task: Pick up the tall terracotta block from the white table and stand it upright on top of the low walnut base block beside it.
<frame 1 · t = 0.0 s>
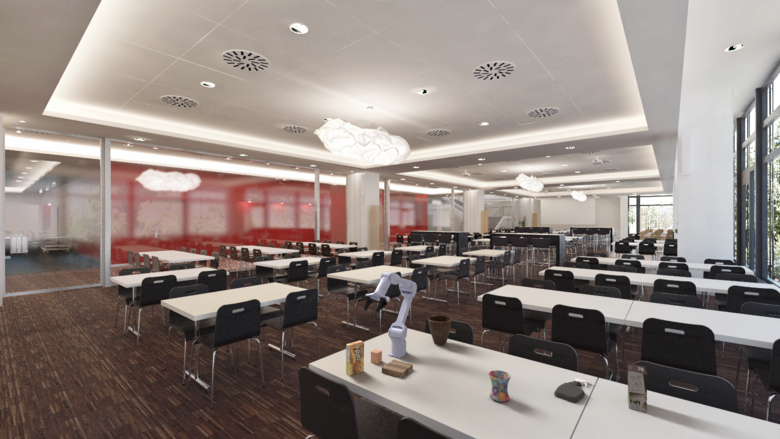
hand: (370, 310, 182), 32 cm above the table, tool tilted 50°, fingers open, 7 cm apart
plant pot: (439, 343, 224), on the table
coffee box: (637, 406, 149), on the table
walnut base: (397, 371, 184), on the table
candy box: (355, 372, 182), on the table
terracotta block: (376, 361, 195), on the table
mug: (500, 397, 157), on the table
spray bottle: (574, 392, 163), on the table
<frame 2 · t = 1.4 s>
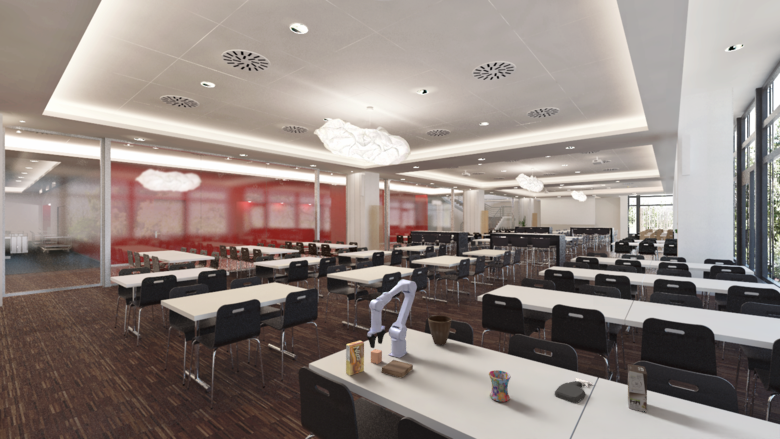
hand: (376, 345, 195), 9 cm above the table, tool pointing down, fingers open, 7 cm apart
nothing on the table moved.
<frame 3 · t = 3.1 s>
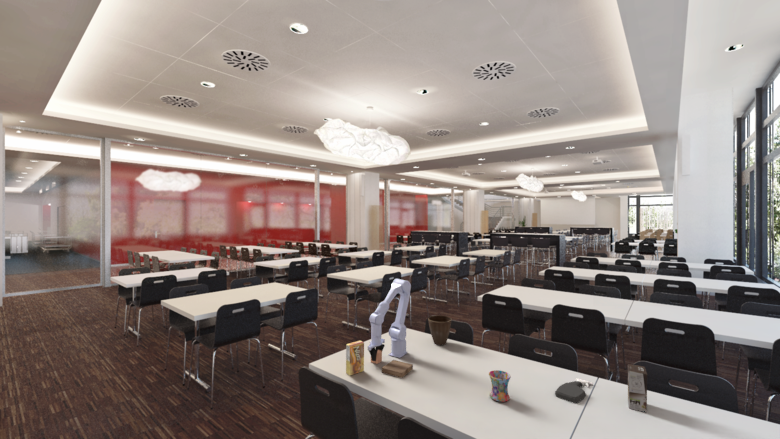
hand: (376, 359, 195), 1 cm above the table, tool pointing down, fingers closed on terracotta block, 4 cm apart
terracotta block: (376, 361, 195), on the table, touching gripper
everything else where it was.
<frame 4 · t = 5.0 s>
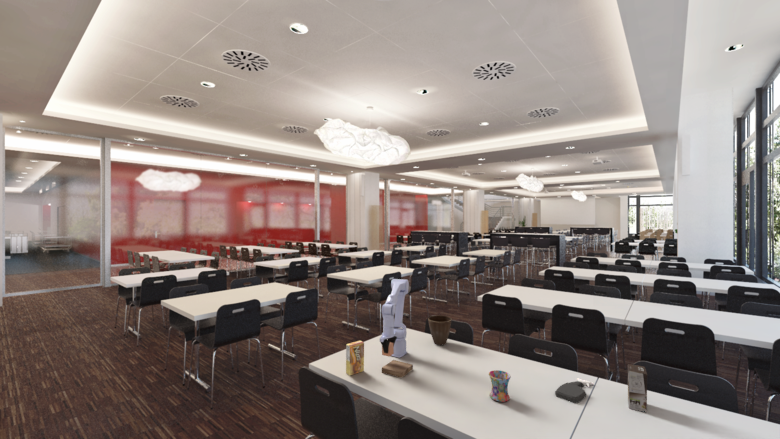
hand: (388, 351, 188), 8 cm above the table, tool pointing down, fingers closed on terracotta block, 4 cm apart
terracotta block: (387, 354, 189), point 7 cm above the table, touching gripper
everything else where it was.
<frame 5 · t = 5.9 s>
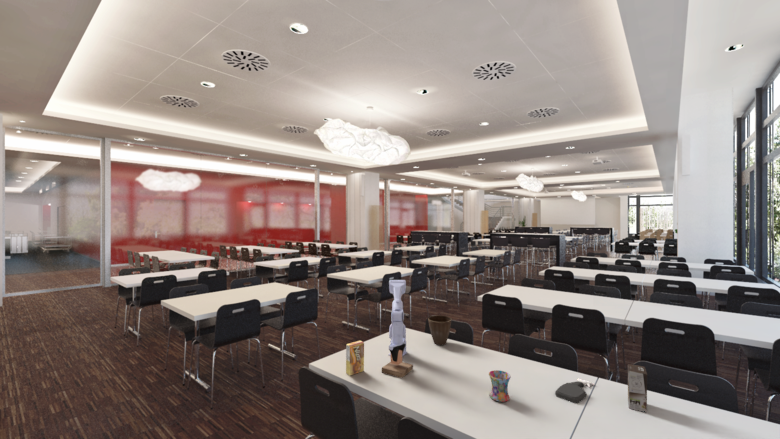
hand: (397, 359, 184), 6 cm above the table, tool pointing down, fingers closed on terracotta block, 4 cm apart
terracotta block: (396, 362, 184), point 4 cm above the table, touching gripper
everything else where it was.
when the fingers open (6 cm above the table, at t = 6.8 s): terracotta block drops 2 cm, resting on walnut base.
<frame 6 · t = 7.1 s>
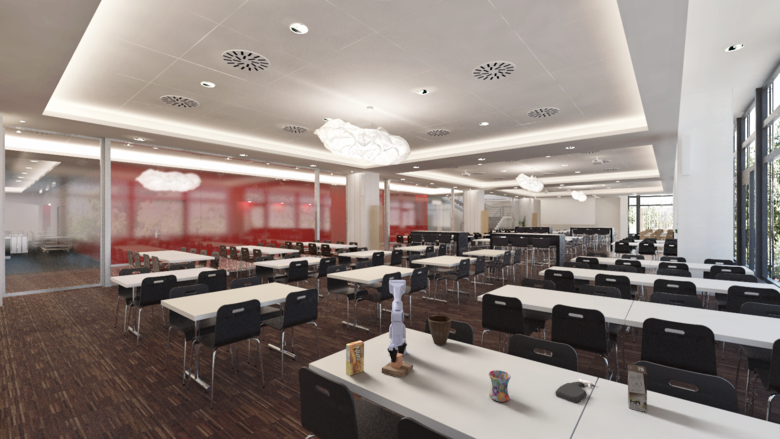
hand: (397, 359, 184), 6 cm above the table, tool pointing down, fingers open, 7 cm apart
walnut base: (397, 371, 184), on the table, touching terracotta block
terracotta block: (396, 366, 184), point 2 cm above the table, touching walnut base
everything else where it was.
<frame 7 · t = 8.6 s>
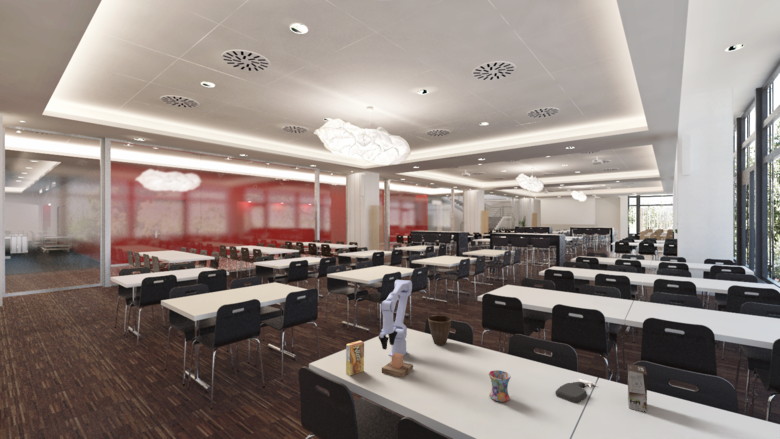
hand: (388, 346, 192), 9 cm above the table, tool pointing down, fingers open, 7 cm apart
walnut base: (397, 371, 184), on the table
terracotta block: (397, 366, 184), point 2 cm above the table
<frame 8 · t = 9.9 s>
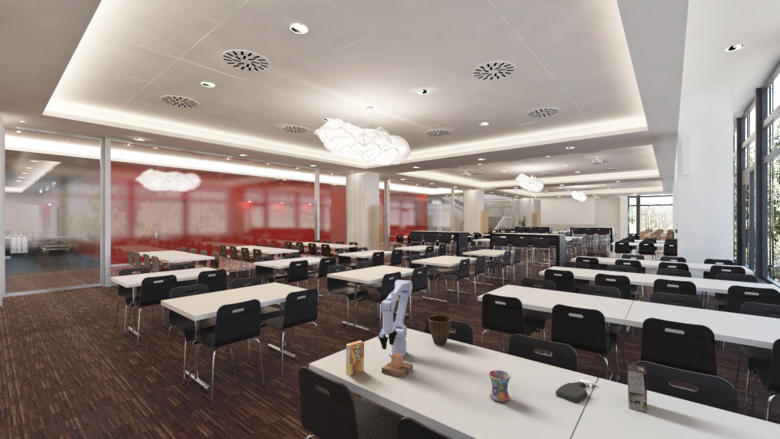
hand: (387, 346, 193), 9 cm above the table, tool pointing down, fingers open, 7 cm apart
walnut base: (397, 371, 184), on the table, touching terracotta block
terracotta block: (397, 366, 184), point 2 cm above the table, touching walnut base
at the end: terracotta block inside the target area on the walnut base (0.2 cm from its centre), point 3.1 cm above the walnut base's base; terracotta block tilted 1°; the gripper is holding nothing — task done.
